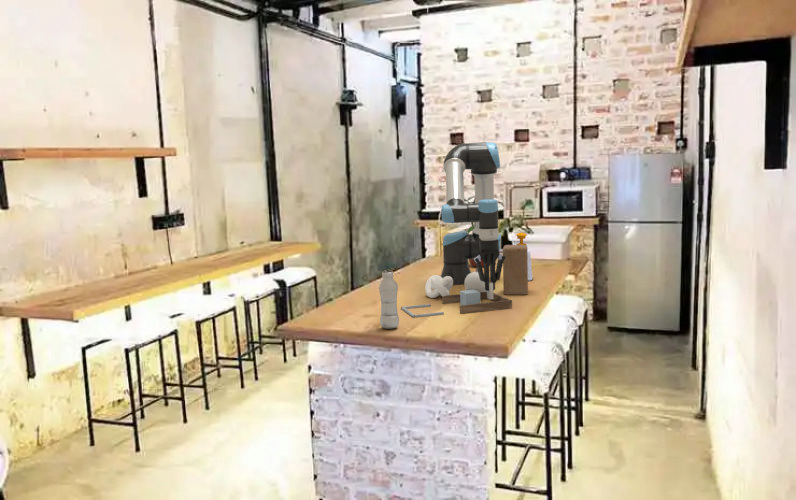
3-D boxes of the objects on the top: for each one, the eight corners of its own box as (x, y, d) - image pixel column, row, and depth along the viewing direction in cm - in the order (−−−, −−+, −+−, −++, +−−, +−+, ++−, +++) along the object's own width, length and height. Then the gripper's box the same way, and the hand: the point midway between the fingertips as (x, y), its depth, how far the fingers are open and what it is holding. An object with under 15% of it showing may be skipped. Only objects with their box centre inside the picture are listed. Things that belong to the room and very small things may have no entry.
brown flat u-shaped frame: (442, 303, 263) (442, 296, 263) (490, 298, 269) (490, 291, 268) (460, 313, 244) (460, 306, 244) (512, 308, 250) (511, 300, 249)
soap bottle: (531, 275, 315) (531, 230, 312) (532, 281, 301) (532, 233, 298) (511, 276, 316) (510, 230, 313) (511, 281, 303) (510, 233, 300)
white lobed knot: (456, 299, 269) (455, 278, 268) (427, 301, 269) (426, 279, 267) (452, 294, 280) (451, 273, 279) (424, 295, 280) (423, 275, 278)
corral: (401, 308, 256) (400, 306, 256) (429, 305, 260) (429, 303, 260) (413, 317, 241) (413, 315, 241) (443, 314, 244) (443, 312, 244)
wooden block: (527, 295, 272) (527, 247, 269) (503, 295, 274) (502, 248, 271) (528, 290, 281) (527, 244, 279) (504, 290, 283) (503, 244, 281)
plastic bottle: (379, 326, 230) (377, 270, 228) (398, 325, 231) (396, 269, 228) (380, 331, 224) (378, 273, 221) (400, 330, 225) (398, 272, 222)
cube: (460, 305, 258) (460, 290, 257) (474, 304, 260) (474, 289, 259) (466, 308, 252) (465, 293, 251) (480, 307, 254) (480, 292, 253)
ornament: (491, 293, 278) (490, 265, 276) (486, 298, 268) (485, 270, 267) (467, 293, 281) (467, 265, 280) (462, 298, 272) (461, 269, 270)
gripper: (477, 241, 249) (478, 301, 252) (508, 238, 253) (509, 298, 256) (469, 239, 256) (471, 298, 259) (500, 237, 260) (501, 295, 263)
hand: (490, 298), depth 258 cm, fingers closed
